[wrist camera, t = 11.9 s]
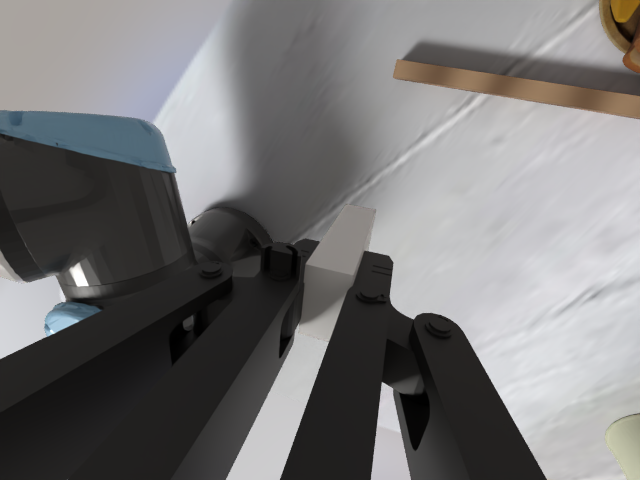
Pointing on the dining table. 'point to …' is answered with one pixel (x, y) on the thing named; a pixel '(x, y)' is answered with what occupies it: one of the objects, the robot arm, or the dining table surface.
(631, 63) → the toy sandwich meal
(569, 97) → the open-ended frame
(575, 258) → the dining table surface
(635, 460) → the can
